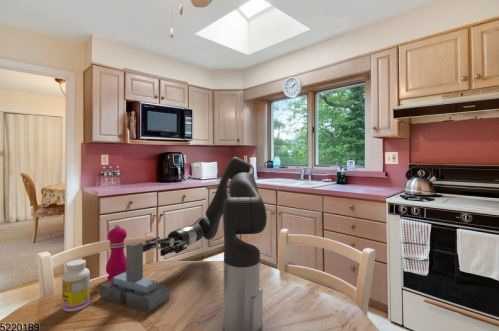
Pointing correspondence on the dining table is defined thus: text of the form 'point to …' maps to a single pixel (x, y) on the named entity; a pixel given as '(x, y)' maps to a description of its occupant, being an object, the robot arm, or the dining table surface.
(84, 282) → the supplement bottle
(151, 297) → the dark grey rectangular block
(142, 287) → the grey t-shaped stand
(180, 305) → the dining table surface
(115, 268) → the pepper mill
